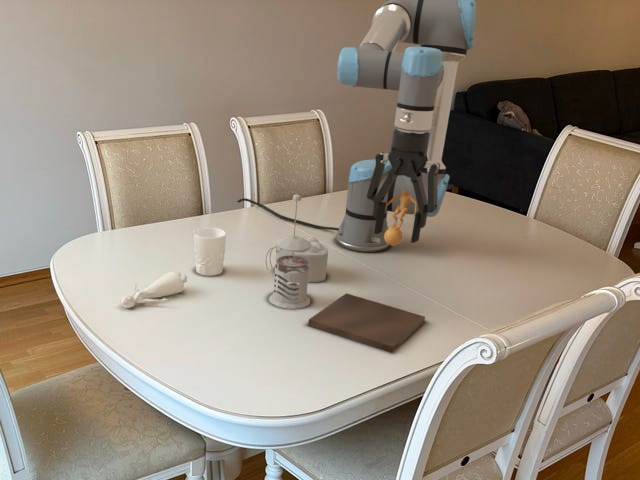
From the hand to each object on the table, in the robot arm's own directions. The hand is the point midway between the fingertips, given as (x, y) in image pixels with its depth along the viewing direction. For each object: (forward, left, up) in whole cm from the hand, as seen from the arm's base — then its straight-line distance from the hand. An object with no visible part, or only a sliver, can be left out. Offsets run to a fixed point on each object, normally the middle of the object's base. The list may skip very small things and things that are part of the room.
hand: (396, 236), depth 154 cm
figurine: (0, 0, -2) cm, 2 cm away
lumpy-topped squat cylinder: (-26, +6, -18) cm, 32 cm away
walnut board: (0, -10, -18) cm, 20 cm away
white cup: (-45, -8, -18) cm, 49 cm away
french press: (-21, -10, -18) cm, 29 cm away
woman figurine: (-45, -29, -18) cm, 56 cm away
